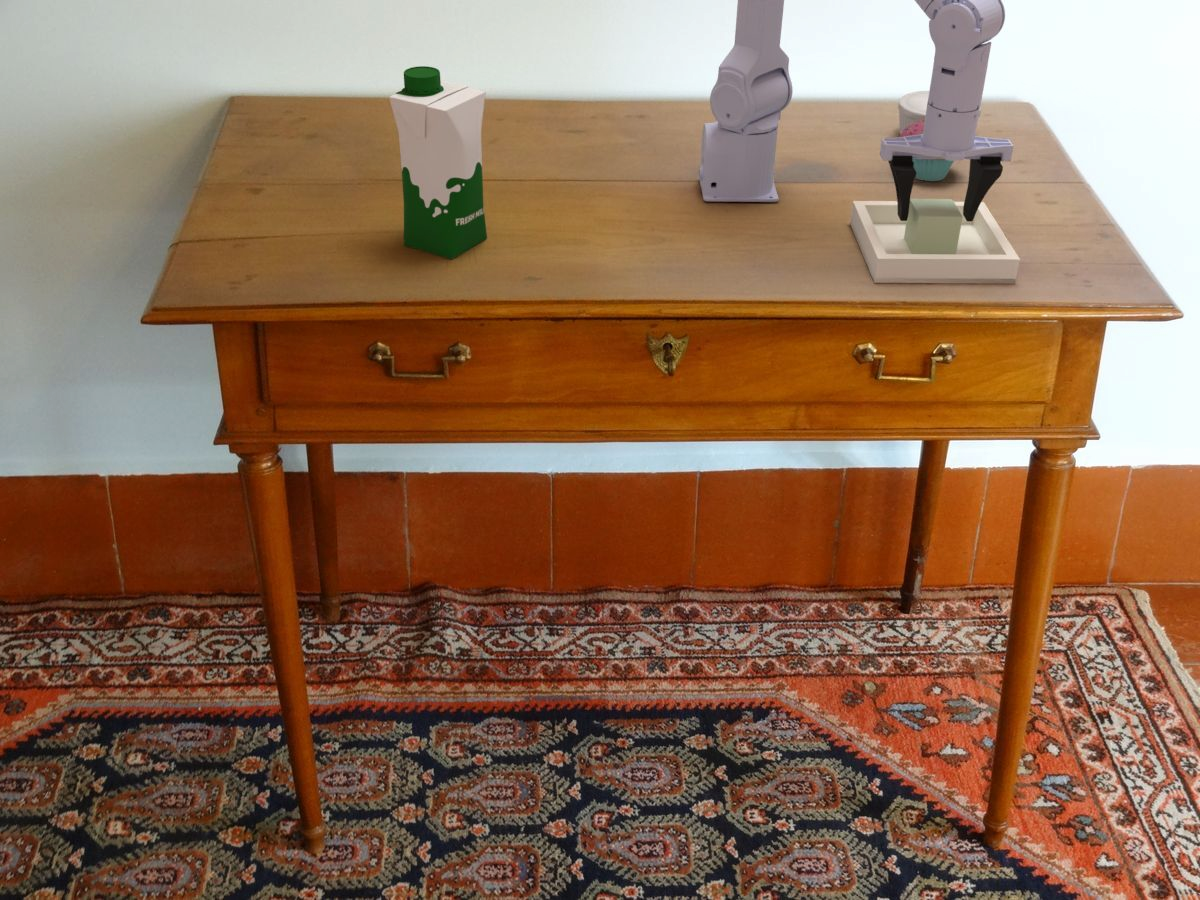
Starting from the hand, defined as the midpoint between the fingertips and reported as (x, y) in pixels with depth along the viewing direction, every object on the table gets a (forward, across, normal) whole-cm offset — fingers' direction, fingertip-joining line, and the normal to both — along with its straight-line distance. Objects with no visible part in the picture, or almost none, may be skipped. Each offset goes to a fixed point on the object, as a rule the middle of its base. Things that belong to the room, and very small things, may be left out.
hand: (934, 217), depth 157 cm
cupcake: (+5, +5, +24) cm, 25 cm away
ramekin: (+5, +9, +37) cm, 38 cm away
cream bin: (+4, 0, 0) cm, 4 cm away
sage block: (+4, 0, 0) cm, 4 cm away
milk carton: (+5, -57, +2) cm, 57 cm away
